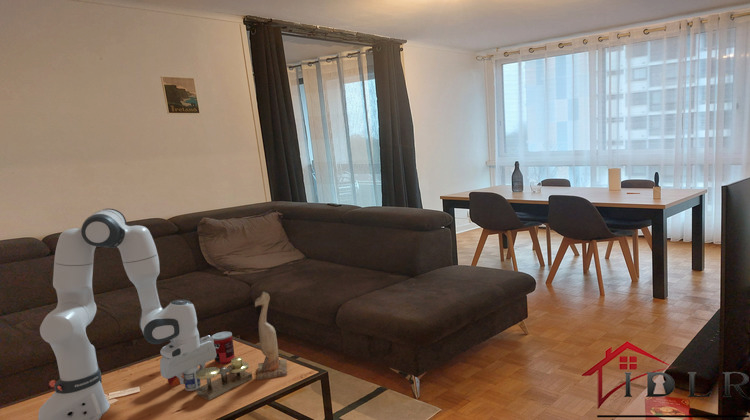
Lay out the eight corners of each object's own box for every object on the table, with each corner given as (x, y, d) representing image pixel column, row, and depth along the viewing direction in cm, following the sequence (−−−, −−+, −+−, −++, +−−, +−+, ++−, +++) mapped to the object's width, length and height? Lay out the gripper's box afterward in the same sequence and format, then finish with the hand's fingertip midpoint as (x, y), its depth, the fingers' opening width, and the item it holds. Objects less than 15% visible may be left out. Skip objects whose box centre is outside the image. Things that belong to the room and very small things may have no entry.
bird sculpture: (256, 369, 190) (244, 290, 185) (287, 362, 193) (275, 285, 188) (257, 382, 179) (244, 299, 174) (289, 374, 182) (277, 293, 177)
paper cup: (179, 387, 179) (174, 351, 177) (161, 386, 181) (155, 351, 179) (191, 377, 187) (186, 342, 185) (173, 376, 188) (168, 342, 186)
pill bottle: (195, 382, 182) (191, 358, 180) (203, 385, 179) (200, 360, 177) (182, 389, 177) (178, 364, 176) (191, 392, 174) (187, 366, 173)
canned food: (214, 358, 202) (211, 333, 200) (234, 354, 204) (231, 329, 203) (214, 366, 195) (211, 340, 193) (235, 362, 197) (232, 336, 196)
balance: (206, 401, 167) (203, 379, 166) (194, 395, 172) (191, 374, 171) (254, 377, 182) (252, 357, 181) (241, 372, 187) (239, 352, 186)
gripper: (207, 332, 186) (212, 366, 187) (155, 352, 170) (161, 389, 172) (217, 335, 181) (221, 370, 183) (164, 356, 166) (170, 394, 168)
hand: (192, 379), depth 177 cm, fingers closed on pill bottle, 5 cm apart
